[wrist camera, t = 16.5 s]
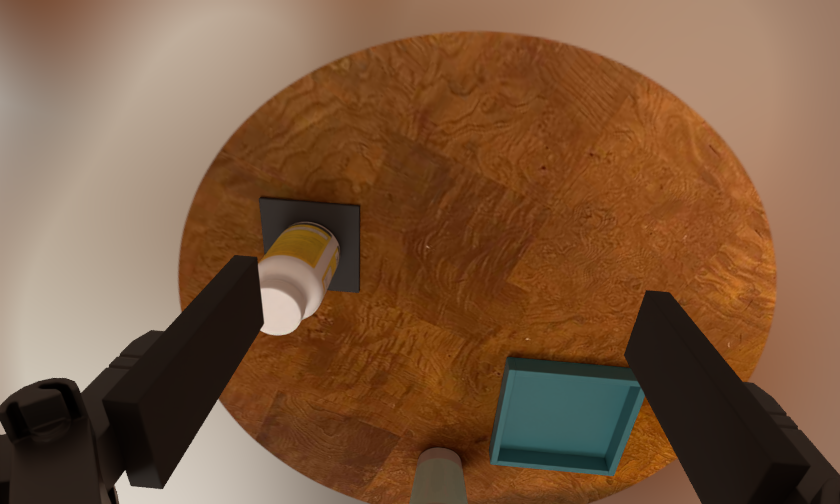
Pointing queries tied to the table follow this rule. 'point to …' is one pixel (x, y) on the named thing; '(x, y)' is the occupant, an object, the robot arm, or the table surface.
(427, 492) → the coffee cup
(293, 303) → the pill bottle
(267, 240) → the mat
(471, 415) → the table surface
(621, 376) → the tray
